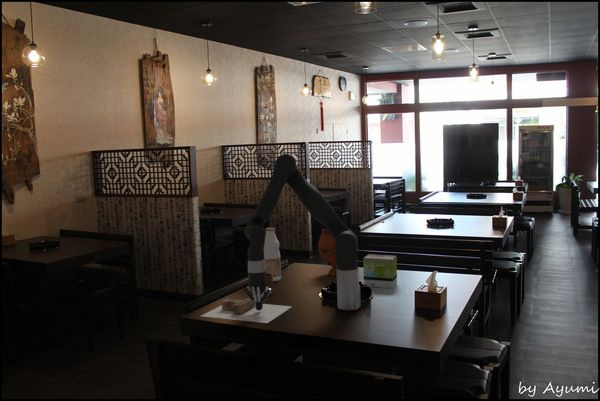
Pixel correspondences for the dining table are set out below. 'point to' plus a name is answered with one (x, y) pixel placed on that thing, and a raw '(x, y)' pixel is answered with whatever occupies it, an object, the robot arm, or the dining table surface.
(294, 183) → the robot arm
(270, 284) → the mug
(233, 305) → the t block
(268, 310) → the mat
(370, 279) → the tea box
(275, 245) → the fruit juice
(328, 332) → the dining table surface
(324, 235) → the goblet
